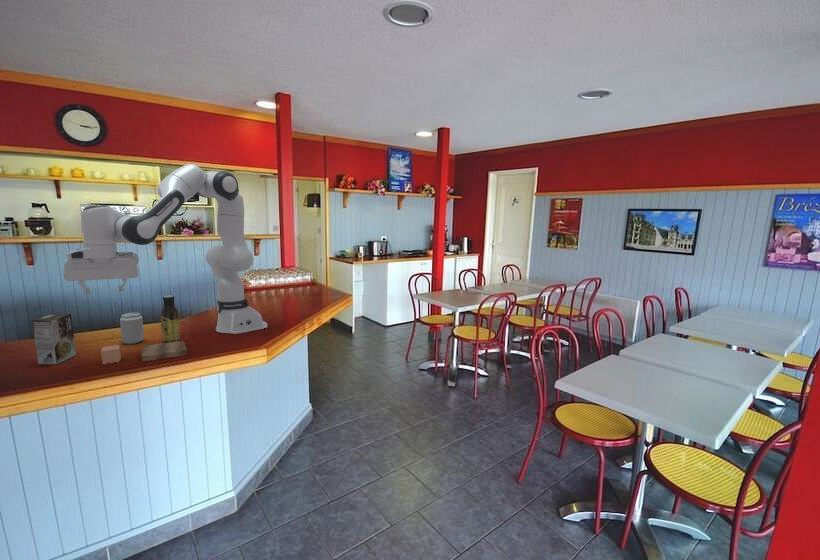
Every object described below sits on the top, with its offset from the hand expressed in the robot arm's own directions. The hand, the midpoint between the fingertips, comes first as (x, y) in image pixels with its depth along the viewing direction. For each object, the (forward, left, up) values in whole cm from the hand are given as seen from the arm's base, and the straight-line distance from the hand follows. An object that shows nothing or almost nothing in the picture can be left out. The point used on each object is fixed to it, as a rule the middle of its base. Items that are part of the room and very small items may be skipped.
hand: (104, 291), depth 133 cm
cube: (0, 0, -26) cm, 26 cm away
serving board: (-16, 0, -25) cm, 30 cm away
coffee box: (+16, -11, -26) cm, 32 cm away
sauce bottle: (-19, -13, -26) cm, 35 cm away
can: (-6, -21, -26) cm, 34 cm away
